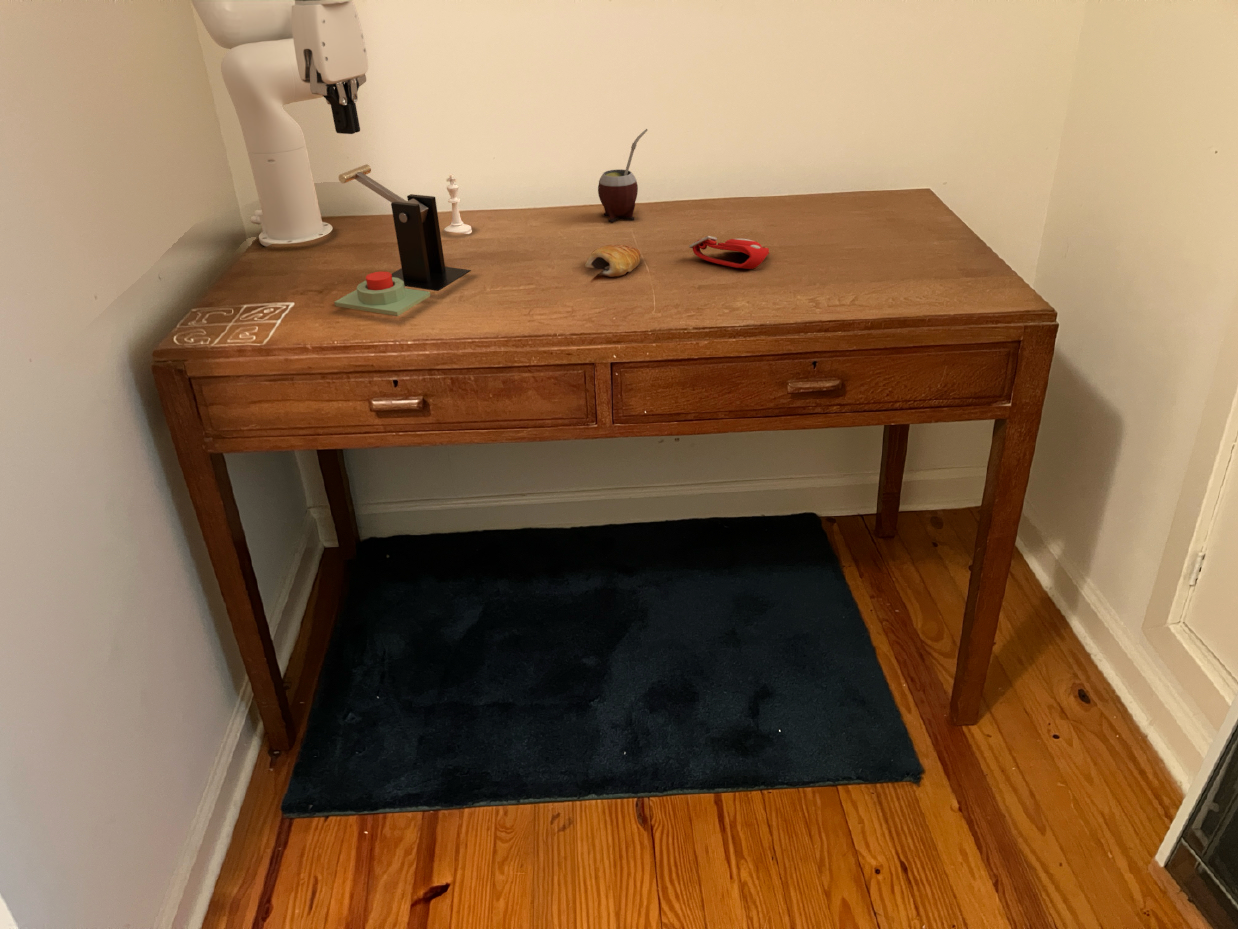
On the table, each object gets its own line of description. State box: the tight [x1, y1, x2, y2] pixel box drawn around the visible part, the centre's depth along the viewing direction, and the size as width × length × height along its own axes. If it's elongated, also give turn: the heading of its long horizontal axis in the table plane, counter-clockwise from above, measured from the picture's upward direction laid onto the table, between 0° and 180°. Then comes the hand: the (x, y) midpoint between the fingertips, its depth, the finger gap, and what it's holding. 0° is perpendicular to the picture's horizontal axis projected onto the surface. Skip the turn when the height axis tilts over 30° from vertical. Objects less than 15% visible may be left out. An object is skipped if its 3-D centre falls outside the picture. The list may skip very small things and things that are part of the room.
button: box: [365, 271, 393, 290], centre depth 130 cm, size 4×4×2 cm
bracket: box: [390, 193, 472, 292], centre depth 137 cm, size 11×9×13 cm
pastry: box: [584, 244, 641, 278], centre depth 142 cm, size 9×7×4 cm
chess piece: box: [443, 174, 473, 235], centre depth 159 cm, size 5×5×10 cm
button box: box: [333, 277, 431, 317], centre depth 132 cm, size 11×8×4 cm
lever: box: [338, 163, 428, 223], centre depth 135 cm, size 13×6×2 cm, turn 66°
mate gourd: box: [597, 128, 648, 224], centre depth 162 cm, size 8×8×15 cm
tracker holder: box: [688, 235, 770, 270], centre depth 143 cm, size 12×4×10 cm
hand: (348, 132), depth 132 cm, fingers closed
